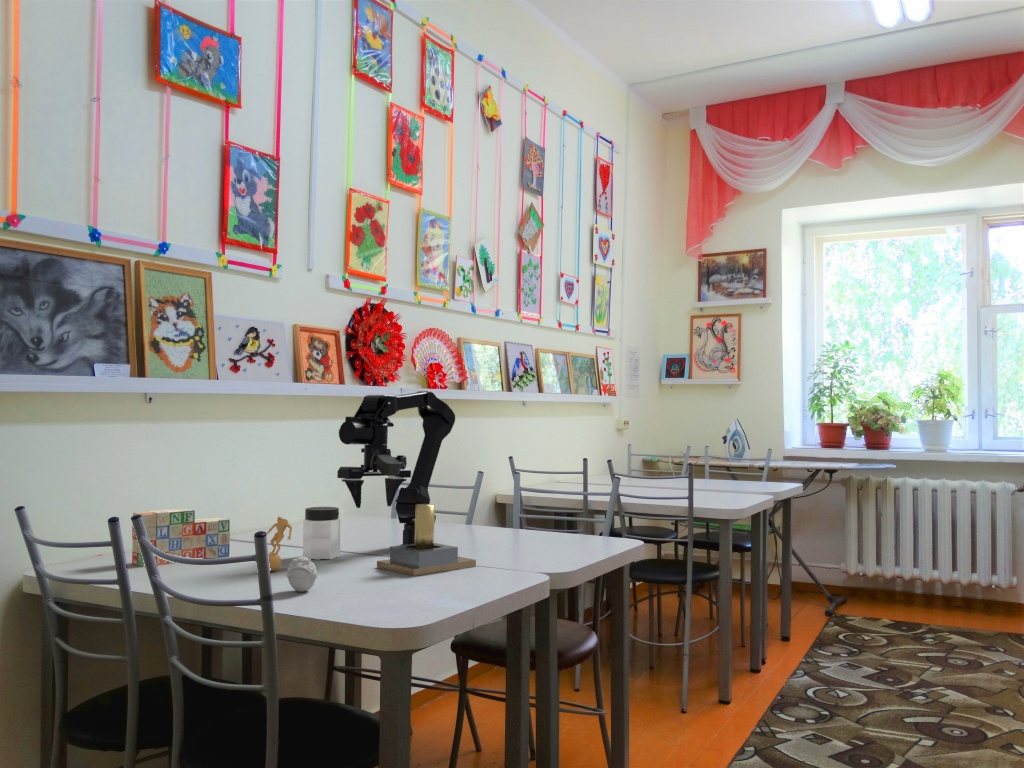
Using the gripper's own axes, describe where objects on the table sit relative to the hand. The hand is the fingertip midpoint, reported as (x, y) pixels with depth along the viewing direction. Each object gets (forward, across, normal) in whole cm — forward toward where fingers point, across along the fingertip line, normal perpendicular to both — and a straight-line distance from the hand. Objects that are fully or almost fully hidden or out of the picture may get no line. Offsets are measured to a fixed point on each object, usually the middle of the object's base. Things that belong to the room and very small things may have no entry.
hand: (374, 507), depth 210 cm
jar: (+12, -10, +7) cm, 18 cm away
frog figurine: (+13, -35, -26) cm, 45 cm away
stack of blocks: (+13, -37, +26) cm, 47 cm away
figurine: (+13, -28, -2) cm, 31 cm away
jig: (+12, 0, -21) cm, 25 cm away
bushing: (+11, -2, -23) cm, 25 cm away
